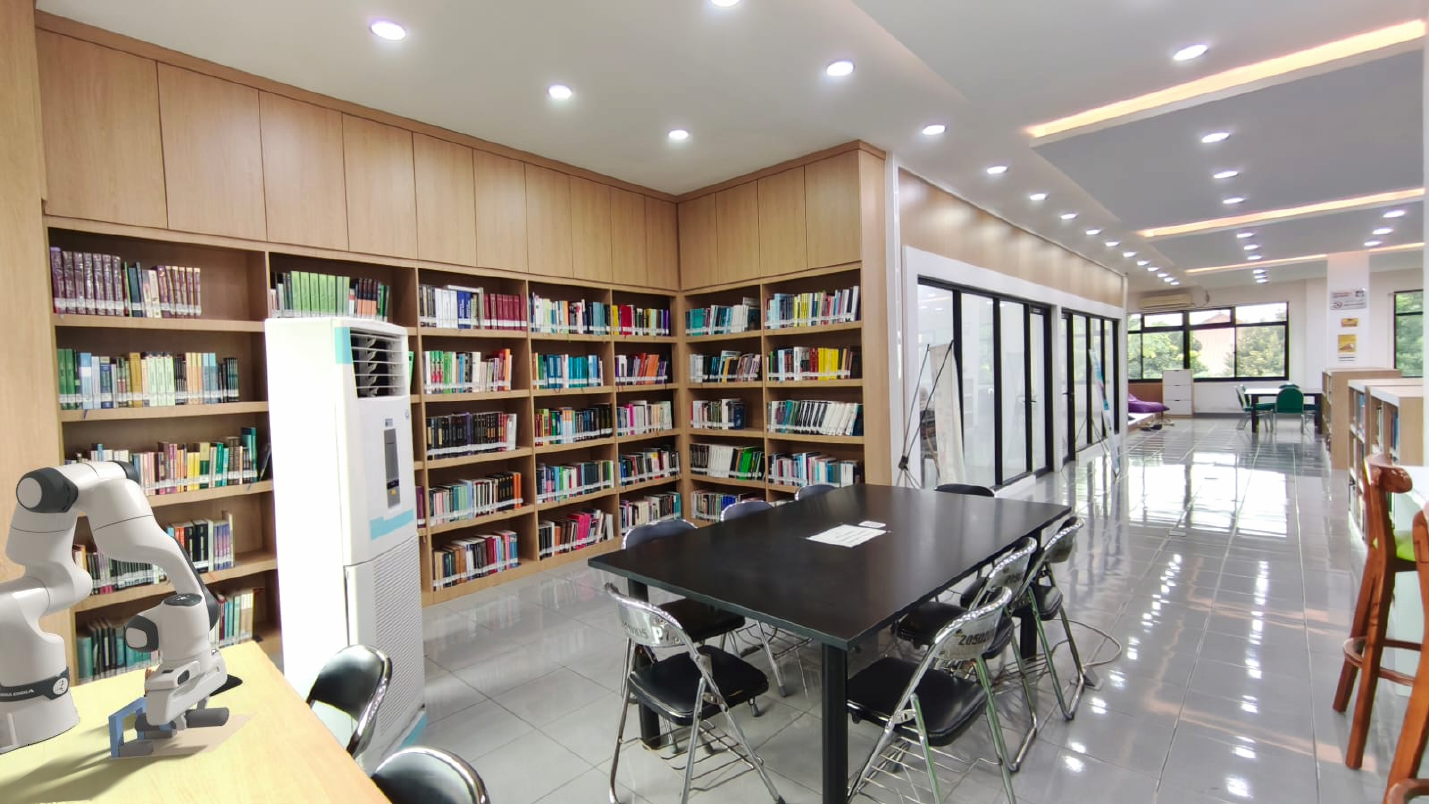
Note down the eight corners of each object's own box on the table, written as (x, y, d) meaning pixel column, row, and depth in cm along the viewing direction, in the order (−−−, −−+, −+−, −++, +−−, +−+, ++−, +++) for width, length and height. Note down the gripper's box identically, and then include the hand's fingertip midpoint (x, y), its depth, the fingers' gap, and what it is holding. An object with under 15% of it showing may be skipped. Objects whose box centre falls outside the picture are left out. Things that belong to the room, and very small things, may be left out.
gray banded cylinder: (134, 735, 144) (134, 717, 144) (149, 726, 148) (148, 709, 148) (217, 729, 145) (216, 712, 145) (229, 721, 149) (229, 703, 149)
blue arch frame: (111, 758, 141) (108, 716, 141) (142, 736, 150) (140, 697, 150) (118, 757, 142) (115, 716, 141) (150, 735, 150) (147, 696, 150)
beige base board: (108, 763, 141) (107, 748, 141) (167, 723, 157) (166, 709, 157) (211, 756, 143) (210, 741, 142) (259, 717, 159) (258, 703, 159)
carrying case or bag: (172, 695, 173) (201, 706, 166) (172, 684, 173) (201, 694, 166) (217, 677, 182) (246, 687, 176) (216, 667, 182) (245, 676, 176)
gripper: (206, 646, 156) (210, 700, 157) (137, 686, 136) (141, 749, 136) (232, 644, 157) (236, 698, 157) (168, 684, 136) (172, 746, 137)
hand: (192, 722), depth 147 cm, fingers closed on gray banded cylinder, 4 cm apart
